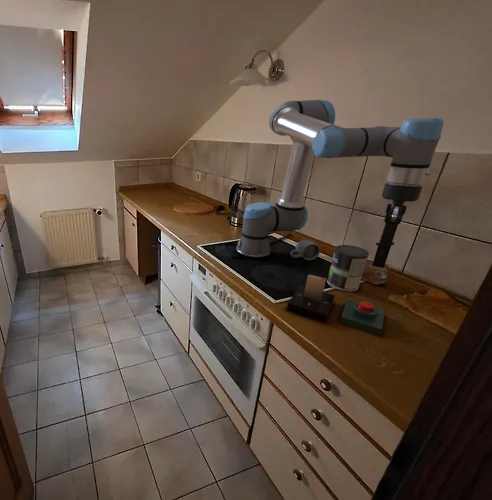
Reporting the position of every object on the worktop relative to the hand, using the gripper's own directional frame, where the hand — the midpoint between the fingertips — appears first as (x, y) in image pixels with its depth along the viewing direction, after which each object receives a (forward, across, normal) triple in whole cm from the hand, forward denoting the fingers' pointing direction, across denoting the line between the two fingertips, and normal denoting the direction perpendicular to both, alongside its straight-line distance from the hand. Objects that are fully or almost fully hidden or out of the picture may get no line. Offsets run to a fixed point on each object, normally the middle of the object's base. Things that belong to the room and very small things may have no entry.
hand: (378, 266), depth 86 cm
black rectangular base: (+18, -2, +14) cm, 23 cm away
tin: (+19, +31, +2) cm, 36 cm away
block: (+18, 0, 0) cm, 18 cm away
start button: (+15, 0, 0) cm, 15 cm away
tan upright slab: (+15, -2, +14) cm, 21 cm away
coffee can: (+19, +21, +8) cm, 29 cm away
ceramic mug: (+19, +39, +26) cm, 50 cm away
